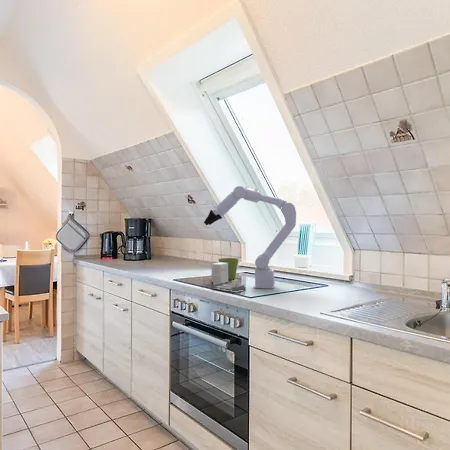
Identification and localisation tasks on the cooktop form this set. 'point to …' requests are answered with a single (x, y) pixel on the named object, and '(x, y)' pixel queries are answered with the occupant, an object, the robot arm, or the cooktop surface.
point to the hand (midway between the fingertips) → (206, 223)
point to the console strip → (228, 287)
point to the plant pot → (230, 266)
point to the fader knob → (235, 283)
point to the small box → (219, 272)
